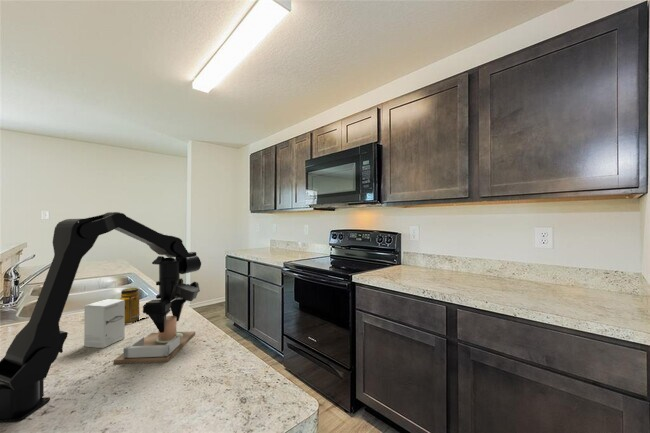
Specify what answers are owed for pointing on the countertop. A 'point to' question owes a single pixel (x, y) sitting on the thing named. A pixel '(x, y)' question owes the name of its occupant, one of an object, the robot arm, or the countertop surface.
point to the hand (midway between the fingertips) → (169, 326)
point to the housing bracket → (150, 348)
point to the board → (153, 340)
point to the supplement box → (104, 323)
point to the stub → (169, 329)
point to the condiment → (131, 304)
